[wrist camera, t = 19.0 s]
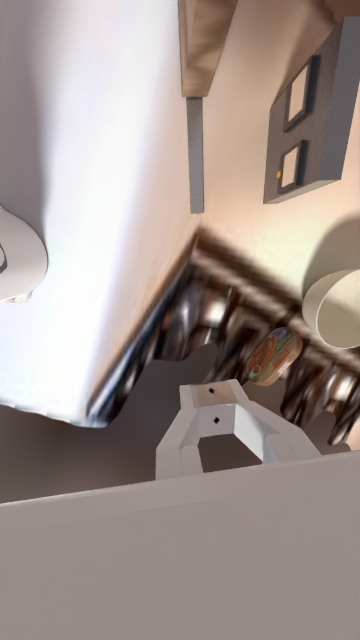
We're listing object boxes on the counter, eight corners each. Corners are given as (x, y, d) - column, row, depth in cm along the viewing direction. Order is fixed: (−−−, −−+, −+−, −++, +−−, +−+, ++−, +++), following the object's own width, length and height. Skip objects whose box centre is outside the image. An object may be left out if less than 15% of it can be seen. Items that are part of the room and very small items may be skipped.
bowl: (272, 293, 44) (302, 305, 35) (335, 247, 42) (385, 246, 33) (301, 341, 50) (334, 363, 40) (358, 302, 47) (407, 315, 38)
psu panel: (190, 213, 37) (208, 195, 24) (182, -2, 27) (203, -228, 14) (277, 209, 38) (338, 188, 25) (298, 2, 29) (413, -204, 16)
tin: (279, 321, 47) (303, 336, 39) (287, 328, 48) (313, 343, 40) (239, 367, 50) (254, 389, 43) (248, 372, 51) (264, 395, 43)
